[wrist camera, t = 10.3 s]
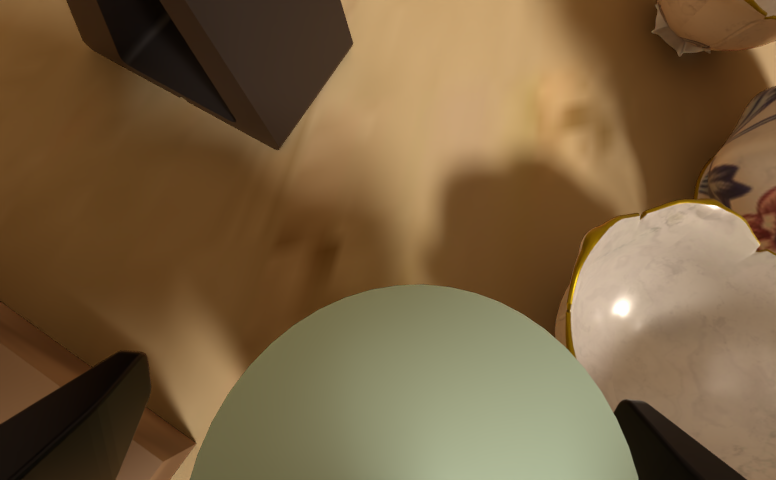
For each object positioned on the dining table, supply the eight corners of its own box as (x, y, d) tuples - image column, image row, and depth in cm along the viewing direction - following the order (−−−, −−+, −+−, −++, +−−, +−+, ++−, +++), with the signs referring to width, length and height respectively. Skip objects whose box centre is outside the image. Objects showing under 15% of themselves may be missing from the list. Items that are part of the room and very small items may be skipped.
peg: (454, 387, 16) (701, 421, 5) (384, 527, 14) (540, 965, 4) (336, 315, 16) (350, 210, 6) (255, 445, 14) (58, 645, 4)
